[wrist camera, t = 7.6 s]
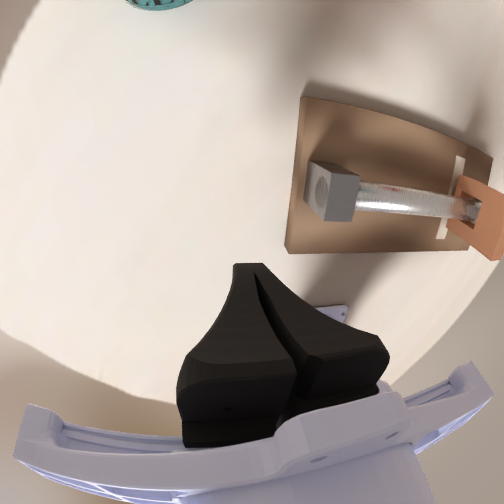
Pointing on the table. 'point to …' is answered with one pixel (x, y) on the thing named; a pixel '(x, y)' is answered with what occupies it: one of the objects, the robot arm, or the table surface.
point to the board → (376, 179)
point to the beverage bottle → (158, 4)
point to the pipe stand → (376, 197)
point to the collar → (481, 219)
